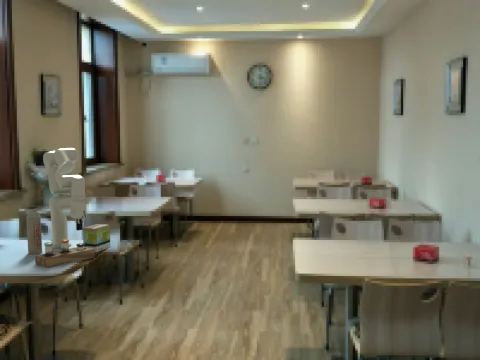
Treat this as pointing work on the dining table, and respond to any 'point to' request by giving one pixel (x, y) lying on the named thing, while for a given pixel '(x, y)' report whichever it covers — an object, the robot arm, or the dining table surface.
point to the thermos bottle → (34, 231)
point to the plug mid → (65, 245)
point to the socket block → (64, 257)
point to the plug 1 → (48, 249)
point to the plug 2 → (80, 246)
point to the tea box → (97, 237)
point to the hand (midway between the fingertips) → (79, 229)
